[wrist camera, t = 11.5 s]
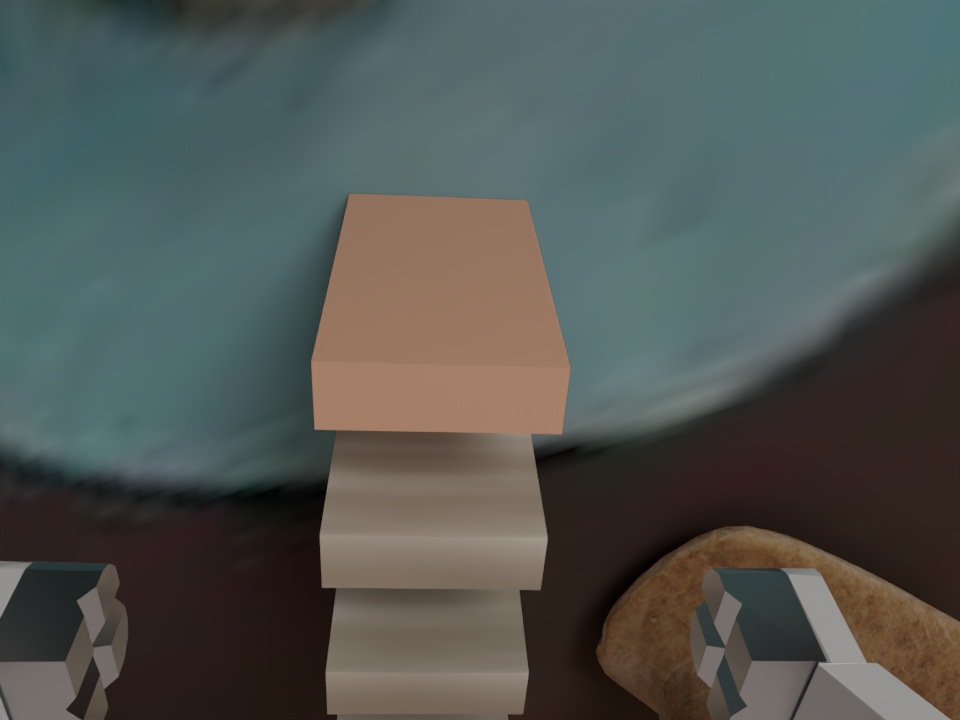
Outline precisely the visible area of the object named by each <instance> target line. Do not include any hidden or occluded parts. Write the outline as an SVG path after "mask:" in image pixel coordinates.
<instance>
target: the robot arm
mask: <svg viewBox="0 0 960 720" xmlns="http://www.w3.org/2000/svg"><path fill="white" fill-rule="evenodd" d="M119 584H120V582H119V578H118V575H117V571H116V568H115V566H114V565H111V564H94V563H64V562H14V561H0V720H104V717H105V715H106V712H107V709H108V704H107V700H106V696H105V692H104V689H105V688H106V687H107V686H108V685H109V684H111V683H112V682H113V681H114V680H115V679H116V678H118V677H119V674H120V670H121V667H122V664H123V661H124V658H125V652H126V646H127V639H128V618H127V614H126V609H125V606H124V605H123V604H122V603H120V602H119V601H118V600H117V599H116V598H114V597H115V595H116V592H117V589H118V586H119ZM702 590H703V593H704V596H705V599H706V600H705V601H704V602H703V603H701V604H700V605H699V606H698V607H696V608H695V610H694V614H693V618H692V621H691V627H690V646H691V652H692V658H693V662H694V666H695V669H696V672H697V676H699V677H700V678H701V679H702V680H703V681H704V682H705V683H706V684H707V685H708V686H709V687H711V690H710V693H709V696H708V699H707V702H706V705H707V708H708V711H709V714H710V717H711V720H951V719H949V718H948V717H947V716H945V715H944V714H943V713H941V712H940V711H939V710H938V709H936V708H935V707H934V706H932V705H931V704H930V703H929V702H927V701H926V700H925V699H923V698H922V697H921V696H919V695H918V694H917V693H916V692H914V691H913V690H912V689H910V688H909V687H908V686H906V685H905V684H904V683H903V682H901V681H900V680H899V679H897V678H896V677H895V676H893V675H892V674H891V673H890V672H888V671H887V670H886V669H884V668H883V667H882V666H881V665H879V664H878V663H867V662H866V660H865V658H864V656H863V654H862V652H861V650H860V648H859V646H858V644H857V642H856V640H855V639H854V637H853V635H852V633H851V631H850V629H849V627H848V625H847V623H846V621H845V619H844V617H843V615H842V614H841V612H840V610H839V608H838V606H837V604H836V602H835V600H834V598H833V596H832V594H831V592H830V590H829V589H828V587H827V585H826V583H825V581H824V579H823V577H822V575H821V574H820V573H819V572H818V571H817V570H816V569H814V568H780V569H776V568H711V569H710V570H709V571H708V572H707V573H706V574H705V578H704V581H703V584H702Z"/></svg>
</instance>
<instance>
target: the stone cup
mask: <svg viewBox="0 0 960 720" xmlns="http://www.w3.org/2000/svg"><path fill="white" fill-rule="evenodd" d="M711 568H776V569H780V568H814V569H816V570H817V571H818V572H819V573H820V574H821V575H822V577H823V579H824V581H825V583H826V585H827V587H828V589H829V590H830V592H831V594H832V596H833V598H834V600H835V602H836V604H837V606H838V608H839V610H840V612H841V614H842V615H843V617H844V619H845V621H846V623H847V625H848V627H849V629H850V631H851V633H852V635H853V637H854V639H855V640H856V642H857V644H858V646H859V648H860V650H861V652H862V654H863V656H864V658H865V660H866V662H867V663H878V664H879V665H881V666H882V667H883V668H884V669H886V670H887V671H888V672H890V673H891V674H892V675H893V676H895V677H896V678H897V679H899V680H900V681H901V682H903V683H904V684H905V685H906V686H908V687H909V688H910V689H912V690H913V691H914V692H916V693H917V694H918V695H919V696H921V697H922V698H923V699H925V700H926V701H927V702H929V703H930V704H931V705H932V706H934V707H935V708H936V709H938V710H939V711H940V712H941V713H943V714H944V715H945V716H947V717H948V718H949V719H951V720H960V622H959V621H957V620H956V619H954V618H952V617H950V616H948V615H947V614H945V613H943V612H941V611H939V610H938V609H936V608H934V607H932V606H930V605H928V604H926V603H925V602H923V601H921V600H919V599H918V598H916V597H914V596H913V595H911V594H909V593H907V592H906V591H904V590H902V589H900V588H898V587H896V586H894V585H893V584H891V583H889V582H887V581H885V580H883V579H882V578H880V577H878V576H876V575H874V574H872V573H870V572H868V571H866V570H864V569H862V568H860V567H858V566H856V565H854V564H851V563H849V562H847V561H845V560H843V559H841V558H839V557H836V556H834V555H832V554H830V553H827V552H825V551H823V550H821V549H819V548H816V547H814V546H812V545H810V544H808V543H805V542H803V541H801V540H798V539H795V538H793V537H790V536H788V535H785V534H781V533H777V532H773V531H770V530H766V529H759V528H755V527H751V526H730V527H724V528H719V529H715V530H712V531H710V532H707V533H704V534H701V535H699V536H696V537H695V538H693V539H691V540H690V541H688V542H686V543H685V544H683V545H681V546H680V547H678V548H677V549H675V550H673V551H672V552H670V553H668V554H667V555H665V556H664V557H662V558H661V559H660V560H659V561H658V562H656V563H655V564H654V565H653V566H652V567H651V568H649V569H648V570H647V571H645V572H644V573H643V574H641V575H640V576H639V577H638V578H637V579H636V580H635V581H634V583H633V584H632V585H631V586H630V587H629V588H628V589H627V590H626V591H625V592H624V593H623V594H622V595H621V596H620V597H619V598H618V600H617V601H616V603H615V604H614V606H613V607H612V609H611V610H610V611H609V614H608V616H607V618H606V620H605V623H604V626H603V633H602V638H601V639H600V640H599V643H598V646H597V649H596V654H597V658H598V661H599V663H600V665H601V667H602V668H603V670H604V672H605V674H606V675H608V676H609V677H610V678H611V679H613V680H614V681H615V682H616V683H618V684H619V685H620V686H622V687H623V688H624V689H626V690H627V691H628V692H630V693H631V694H632V695H634V696H635V697H637V698H638V699H639V700H641V701H642V702H643V703H645V704H646V705H647V706H649V707H650V708H651V709H653V710H654V711H655V712H657V713H658V716H659V719H660V720H711V717H710V714H709V711H708V708H707V705H706V702H707V699H708V696H709V693H710V690H711V687H709V686H708V685H707V684H706V683H705V682H704V681H703V680H702V679H701V678H700V677H699V676H697V672H696V669H695V666H694V662H693V658H692V652H691V646H690V627H691V621H692V618H693V614H694V610H695V608H696V607H698V606H699V605H700V604H701V603H703V602H704V601H705V600H706V599H705V596H704V593H703V590H702V584H703V581H704V578H705V574H706V573H707V572H708V571H709V570H710V569H711Z"/></svg>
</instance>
